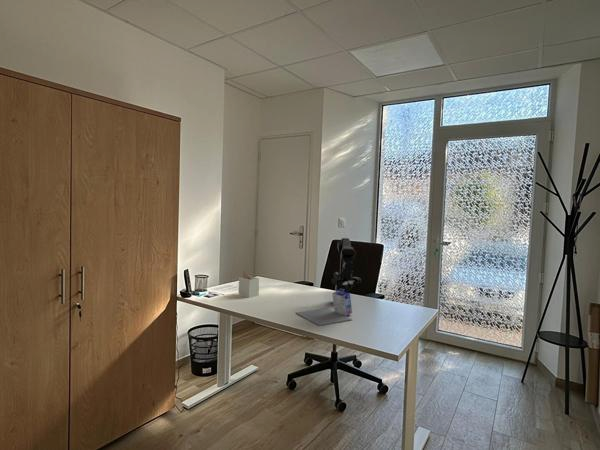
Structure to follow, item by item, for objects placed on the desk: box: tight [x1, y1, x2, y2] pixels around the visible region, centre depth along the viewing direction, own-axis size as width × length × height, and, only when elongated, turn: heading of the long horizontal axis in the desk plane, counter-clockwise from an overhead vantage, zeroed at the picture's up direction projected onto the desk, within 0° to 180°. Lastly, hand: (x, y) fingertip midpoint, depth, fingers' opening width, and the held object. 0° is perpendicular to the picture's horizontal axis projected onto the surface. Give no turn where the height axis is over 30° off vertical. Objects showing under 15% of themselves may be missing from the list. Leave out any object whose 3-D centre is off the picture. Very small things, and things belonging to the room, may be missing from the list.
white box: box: [238, 271, 260, 299], centre depth 243 cm, size 9×11×17 cm
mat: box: [295, 307, 353, 327], centre depth 201 cm, size 22×24×1 cm
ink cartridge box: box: [332, 288, 353, 317], centre depth 207 cm, size 10×6×14 cm, turn 42°
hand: (346, 295), depth 209 cm, fingers closed
